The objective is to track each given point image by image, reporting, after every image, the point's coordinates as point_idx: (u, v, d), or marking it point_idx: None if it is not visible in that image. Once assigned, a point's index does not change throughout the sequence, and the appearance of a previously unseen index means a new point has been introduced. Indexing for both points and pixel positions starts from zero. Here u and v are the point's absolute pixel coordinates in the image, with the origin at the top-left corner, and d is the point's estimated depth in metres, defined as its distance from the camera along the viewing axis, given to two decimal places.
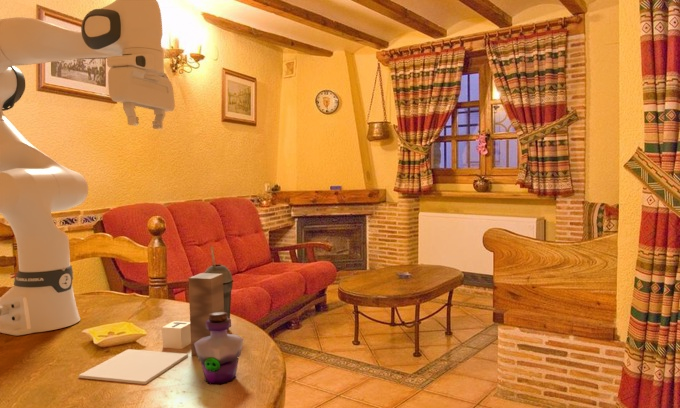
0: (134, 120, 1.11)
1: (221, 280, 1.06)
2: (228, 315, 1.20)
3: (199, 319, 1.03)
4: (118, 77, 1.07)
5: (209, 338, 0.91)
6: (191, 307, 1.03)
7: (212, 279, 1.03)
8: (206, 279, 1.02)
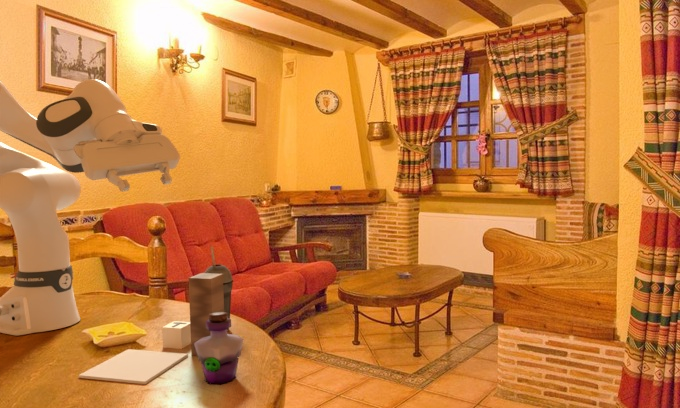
0: None
1: (221, 280, 1.06)
2: (228, 315, 1.20)
3: (199, 319, 1.03)
4: None
5: (209, 338, 0.91)
6: (191, 307, 1.03)
7: (212, 279, 1.03)
8: (206, 279, 1.02)
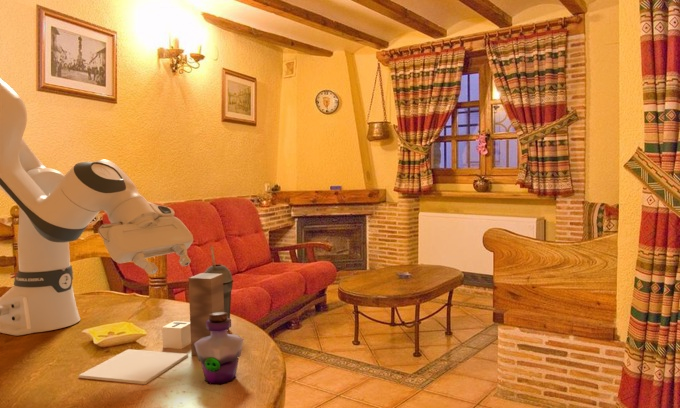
0: None
1: (221, 280, 1.06)
2: (228, 315, 1.20)
3: (199, 319, 1.03)
4: None
5: (209, 338, 0.91)
6: (191, 307, 1.03)
7: (212, 279, 1.03)
8: (206, 279, 1.02)
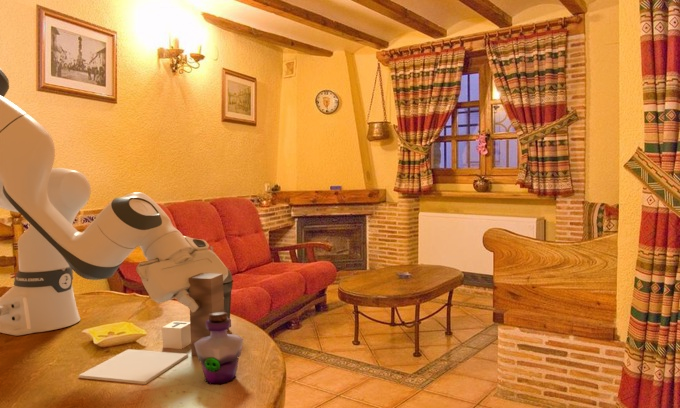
0: None
1: (221, 280, 1.06)
2: (228, 315, 1.20)
3: (199, 319, 1.03)
4: None
5: (209, 338, 0.91)
6: None
7: (212, 279, 1.03)
8: (206, 279, 1.02)
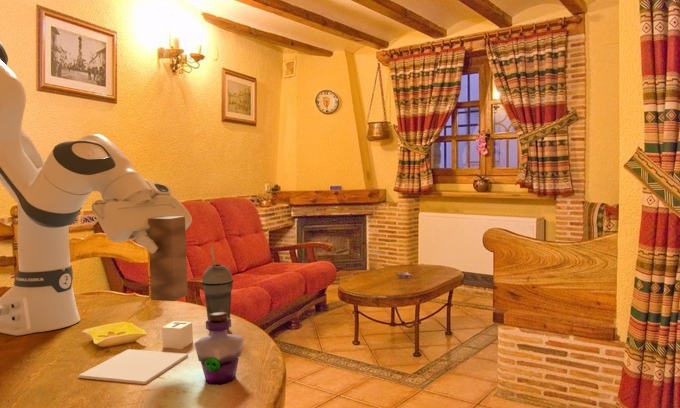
0: None
1: (183, 223, 1.02)
2: (228, 315, 1.20)
3: (158, 262, 0.99)
4: None
5: (209, 338, 0.91)
6: None
7: (173, 219, 0.99)
8: (166, 219, 0.98)
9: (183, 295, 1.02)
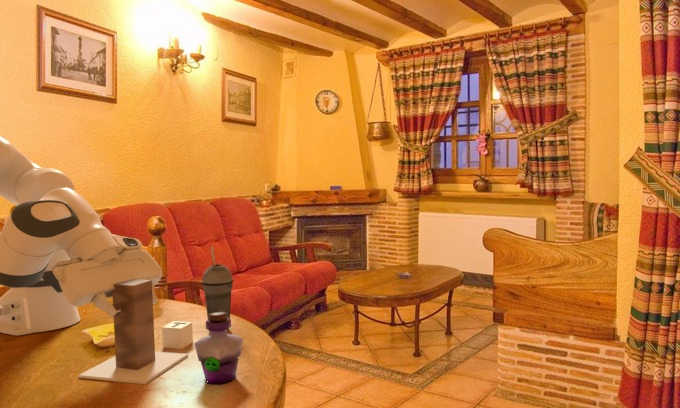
0: None
1: (149, 287, 0.99)
2: (228, 315, 1.20)
3: (122, 329, 0.96)
4: None
5: (209, 338, 0.91)
6: None
7: (136, 286, 0.95)
8: (129, 286, 0.95)
9: (149, 362, 0.99)
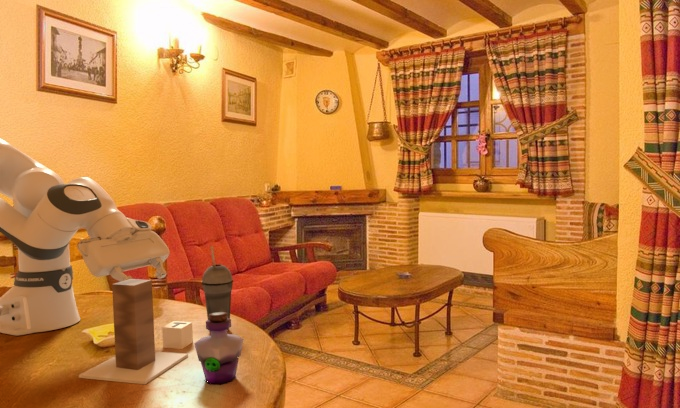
0: None
1: (149, 287, 0.99)
2: (228, 315, 1.20)
3: (122, 329, 0.96)
4: None
5: (209, 338, 0.91)
6: (115, 315, 0.96)
7: (136, 286, 0.95)
8: (129, 286, 0.95)
9: (149, 362, 0.99)
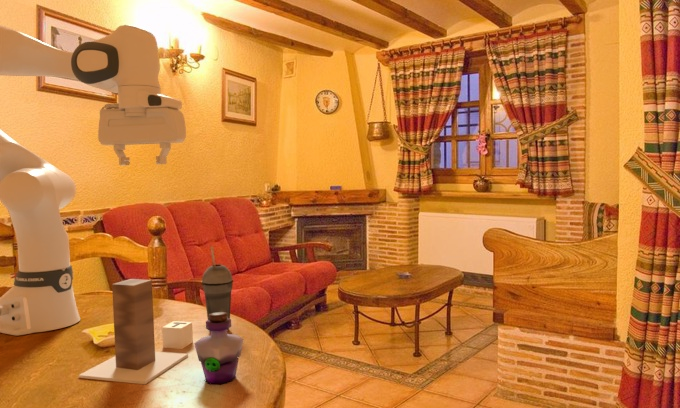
0: (165, 160, 1.13)
1: (149, 287, 0.99)
2: (228, 315, 1.20)
3: (122, 329, 0.96)
4: (180, 120, 1.11)
5: (209, 338, 0.91)
6: (115, 315, 0.96)
7: (136, 286, 0.95)
8: (129, 286, 0.95)
9: (149, 362, 0.99)
